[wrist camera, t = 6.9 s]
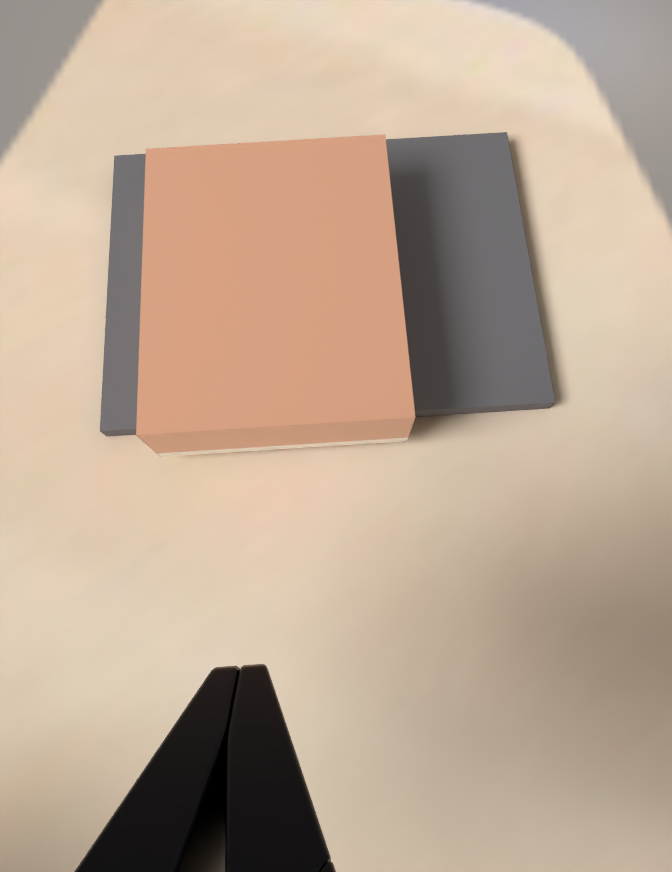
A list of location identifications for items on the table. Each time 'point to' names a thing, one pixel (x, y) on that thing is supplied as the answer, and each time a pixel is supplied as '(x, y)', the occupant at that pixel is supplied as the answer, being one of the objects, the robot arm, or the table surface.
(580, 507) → the table surface
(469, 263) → the mat
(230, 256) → the tile
